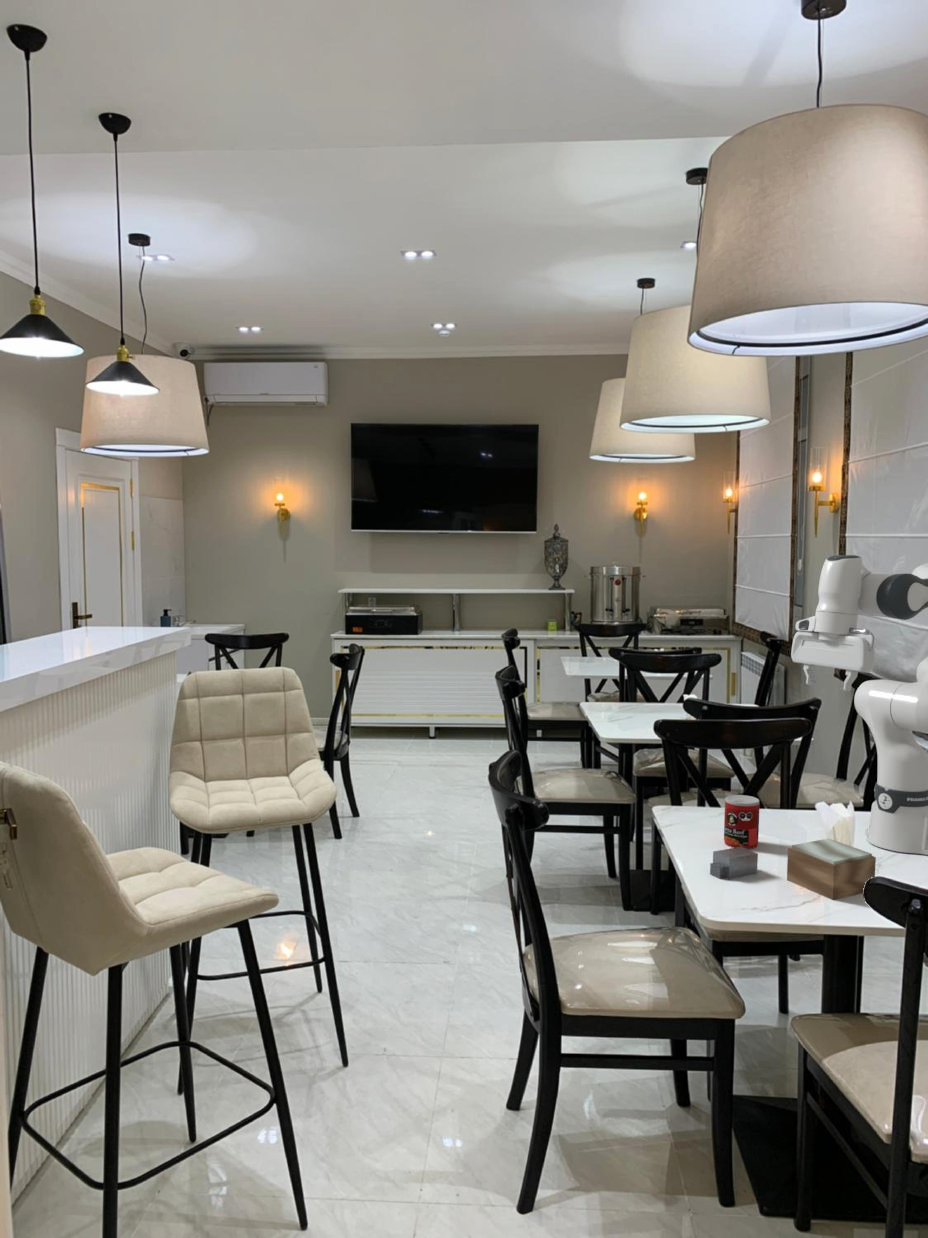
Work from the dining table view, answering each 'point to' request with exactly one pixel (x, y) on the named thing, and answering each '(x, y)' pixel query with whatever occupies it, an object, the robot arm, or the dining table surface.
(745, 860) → the block
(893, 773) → the robot arm
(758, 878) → the dining table surface
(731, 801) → the canned food
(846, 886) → the stand
